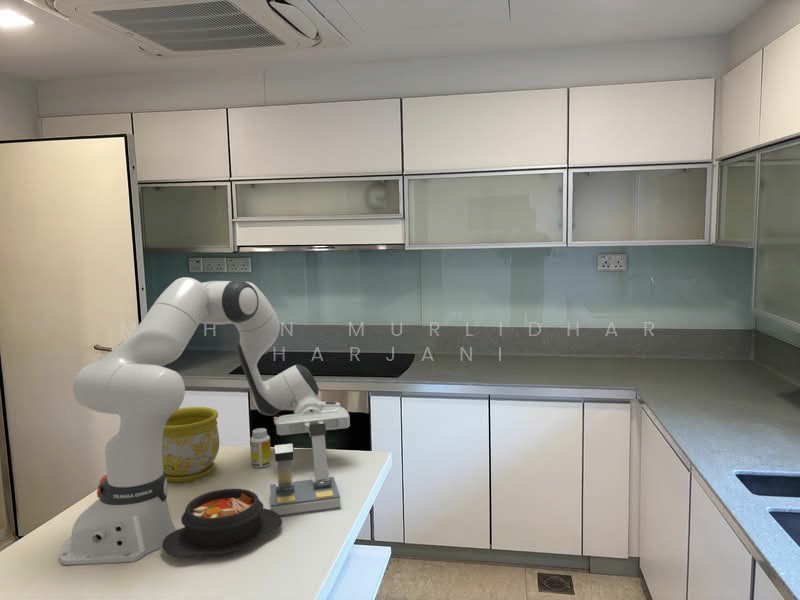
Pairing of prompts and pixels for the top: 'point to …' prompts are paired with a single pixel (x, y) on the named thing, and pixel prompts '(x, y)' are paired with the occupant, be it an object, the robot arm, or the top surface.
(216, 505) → the casserole
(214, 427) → the flowerpot
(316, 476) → the lever right
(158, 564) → the top surface
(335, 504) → the switch unit
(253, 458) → the supplement bottle
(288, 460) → the lever left
